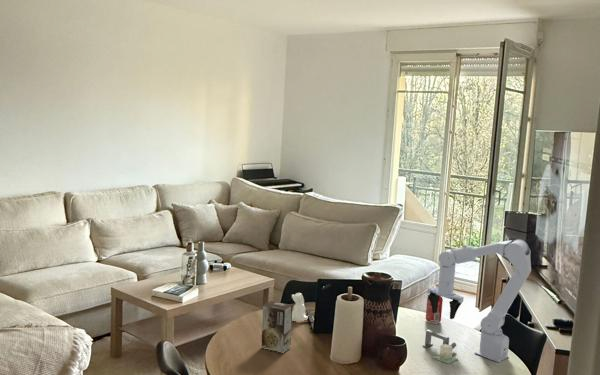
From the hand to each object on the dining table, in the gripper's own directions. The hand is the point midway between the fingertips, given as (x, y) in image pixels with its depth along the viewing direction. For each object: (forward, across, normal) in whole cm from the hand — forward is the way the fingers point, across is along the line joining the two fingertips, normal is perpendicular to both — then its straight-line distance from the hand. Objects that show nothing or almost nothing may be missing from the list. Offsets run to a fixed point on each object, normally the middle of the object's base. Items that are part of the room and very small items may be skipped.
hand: (443, 315), depth 212 cm
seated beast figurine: (+11, +48, +30) cm, 58 cm away
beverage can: (+11, +14, -16) cm, 24 cm away
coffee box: (+11, +33, +56) cm, 66 cm away
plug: (+10, -9, +10) cm, 17 cm away
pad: (+10, -10, +13) cm, 19 cm away
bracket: (+10, -3, +8) cm, 13 cm away
